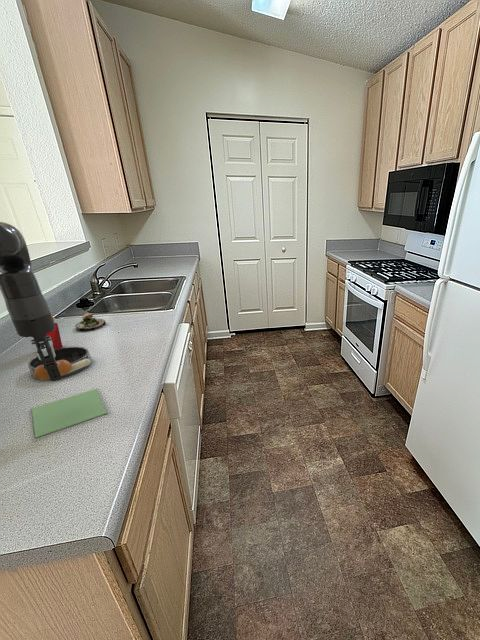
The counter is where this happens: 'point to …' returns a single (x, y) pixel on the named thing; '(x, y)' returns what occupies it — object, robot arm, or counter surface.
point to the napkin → (67, 412)
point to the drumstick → (60, 368)
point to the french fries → (55, 337)
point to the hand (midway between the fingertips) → (55, 376)
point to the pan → (64, 354)
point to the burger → (89, 322)
